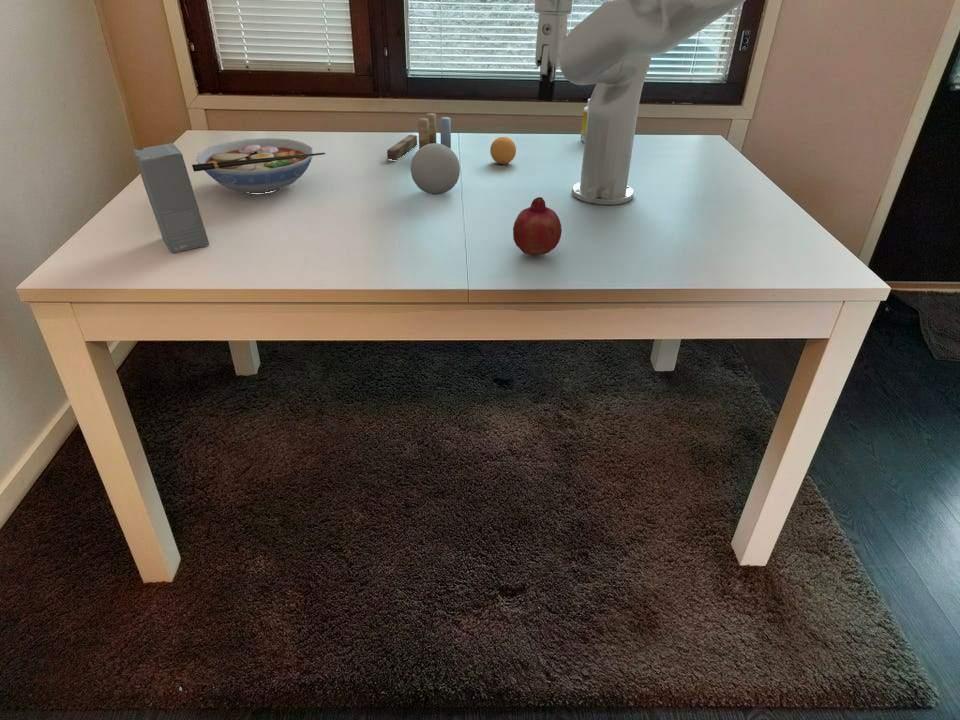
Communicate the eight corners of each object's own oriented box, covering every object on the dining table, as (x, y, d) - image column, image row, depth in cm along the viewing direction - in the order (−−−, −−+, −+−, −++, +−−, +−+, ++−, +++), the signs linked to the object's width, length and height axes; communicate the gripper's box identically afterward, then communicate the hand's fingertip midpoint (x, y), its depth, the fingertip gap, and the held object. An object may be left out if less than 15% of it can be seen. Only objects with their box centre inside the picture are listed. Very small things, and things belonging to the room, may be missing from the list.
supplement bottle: (593, 145, 164) (598, 103, 158) (576, 140, 167) (580, 99, 162) (606, 141, 168) (611, 99, 162) (588, 136, 171) (593, 96, 165)
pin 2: (434, 154, 155) (433, 115, 150) (425, 153, 156) (424, 115, 151) (438, 151, 157) (437, 113, 152) (428, 151, 158) (427, 112, 153)
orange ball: (512, 168, 147) (513, 141, 144) (486, 165, 149) (487, 139, 145) (518, 161, 152) (519, 135, 149) (493, 158, 154) (494, 132, 150)
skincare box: (210, 246, 110) (188, 153, 101) (166, 255, 107) (139, 159, 98) (199, 229, 116) (177, 140, 107) (156, 238, 112) (130, 146, 104)
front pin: (449, 159, 152) (448, 120, 147) (439, 158, 153) (438, 119, 148) (452, 156, 154) (451, 117, 149) (442, 155, 155) (442, 116, 150)
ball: (448, 182, 139) (447, 135, 133) (468, 197, 131) (468, 147, 126) (404, 189, 135) (402, 140, 129) (422, 204, 128) (420, 154, 122)
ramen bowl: (309, 166, 147) (304, 129, 142) (336, 198, 130) (331, 157, 125) (193, 180, 138) (183, 141, 133) (205, 216, 121) (195, 173, 116)
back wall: (395, 161, 150) (395, 151, 149) (387, 160, 151) (387, 150, 149) (417, 145, 161) (416, 135, 160) (409, 144, 162) (409, 134, 161)
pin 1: (427, 160, 151) (426, 121, 146) (418, 159, 152) (416, 120, 147) (431, 157, 153) (429, 118, 148) (421, 156, 154) (420, 117, 149)
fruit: (557, 267, 105) (563, 208, 100) (508, 262, 106) (511, 204, 101) (560, 246, 112) (565, 190, 106) (514, 243, 113) (517, 187, 107)
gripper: (565, 9, 123) (556, 109, 134) (577, 1, 135) (568, 94, 146) (527, 7, 125) (521, 106, 135) (542, -1, 137) (536, 91, 147)
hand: (545, 99), depth 140 cm, fingers closed
